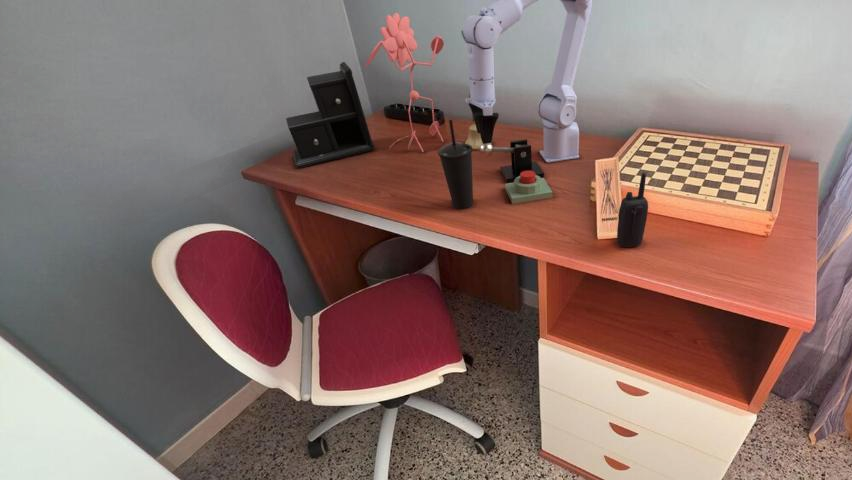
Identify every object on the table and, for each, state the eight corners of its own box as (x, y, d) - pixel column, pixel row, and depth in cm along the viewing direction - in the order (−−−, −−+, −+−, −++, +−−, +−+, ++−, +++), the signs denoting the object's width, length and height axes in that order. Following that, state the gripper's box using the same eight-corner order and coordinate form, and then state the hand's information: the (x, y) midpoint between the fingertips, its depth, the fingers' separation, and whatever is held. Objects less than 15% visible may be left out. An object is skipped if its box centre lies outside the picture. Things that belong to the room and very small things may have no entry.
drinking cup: (466, 215, 98) (453, 128, 85) (441, 208, 101) (424, 123, 89) (485, 201, 103) (475, 116, 90) (460, 194, 106) (447, 112, 93)
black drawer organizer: (296, 169, 125) (261, 83, 110) (293, 156, 132) (260, 75, 117) (375, 151, 132) (352, 68, 117) (368, 140, 139) (346, 61, 124)
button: (533, 177, 104) (533, 169, 103) (537, 183, 101) (536, 175, 100) (519, 179, 104) (518, 171, 102) (522, 186, 101) (522, 178, 100)
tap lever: (479, 159, 106) (480, 144, 104) (477, 153, 109) (478, 139, 106) (526, 160, 109) (528, 146, 107) (523, 154, 111) (525, 141, 109)
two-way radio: (639, 237, 87) (650, 168, 77) (647, 249, 84) (659, 178, 74) (613, 240, 87) (620, 171, 77) (620, 253, 83) (629, 182, 74)
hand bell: (496, 141, 132) (491, 86, 121) (481, 151, 126) (474, 95, 116) (475, 137, 135) (468, 84, 125) (459, 147, 130) (451, 92, 120)
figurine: (462, 133, 139) (445, 6, 116) (405, 163, 123) (373, 23, 101) (428, 126, 146) (406, 5, 123) (370, 153, 130) (333, 20, 108)
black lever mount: (506, 183, 109) (504, 152, 104) (500, 170, 115) (498, 140, 110) (544, 177, 110) (543, 146, 105) (536, 165, 117) (535, 135, 111)
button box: (543, 183, 108) (543, 170, 106) (552, 197, 102) (552, 184, 100) (505, 189, 107) (504, 176, 105) (512, 204, 101) (511, 190, 99)
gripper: (460, 72, 102) (464, 129, 110) (468, 86, 90) (472, 149, 99) (489, 70, 103) (491, 127, 111) (500, 84, 92) (502, 146, 100)
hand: (484, 137), depth 105 cm, fingers open, 7 cm apart
